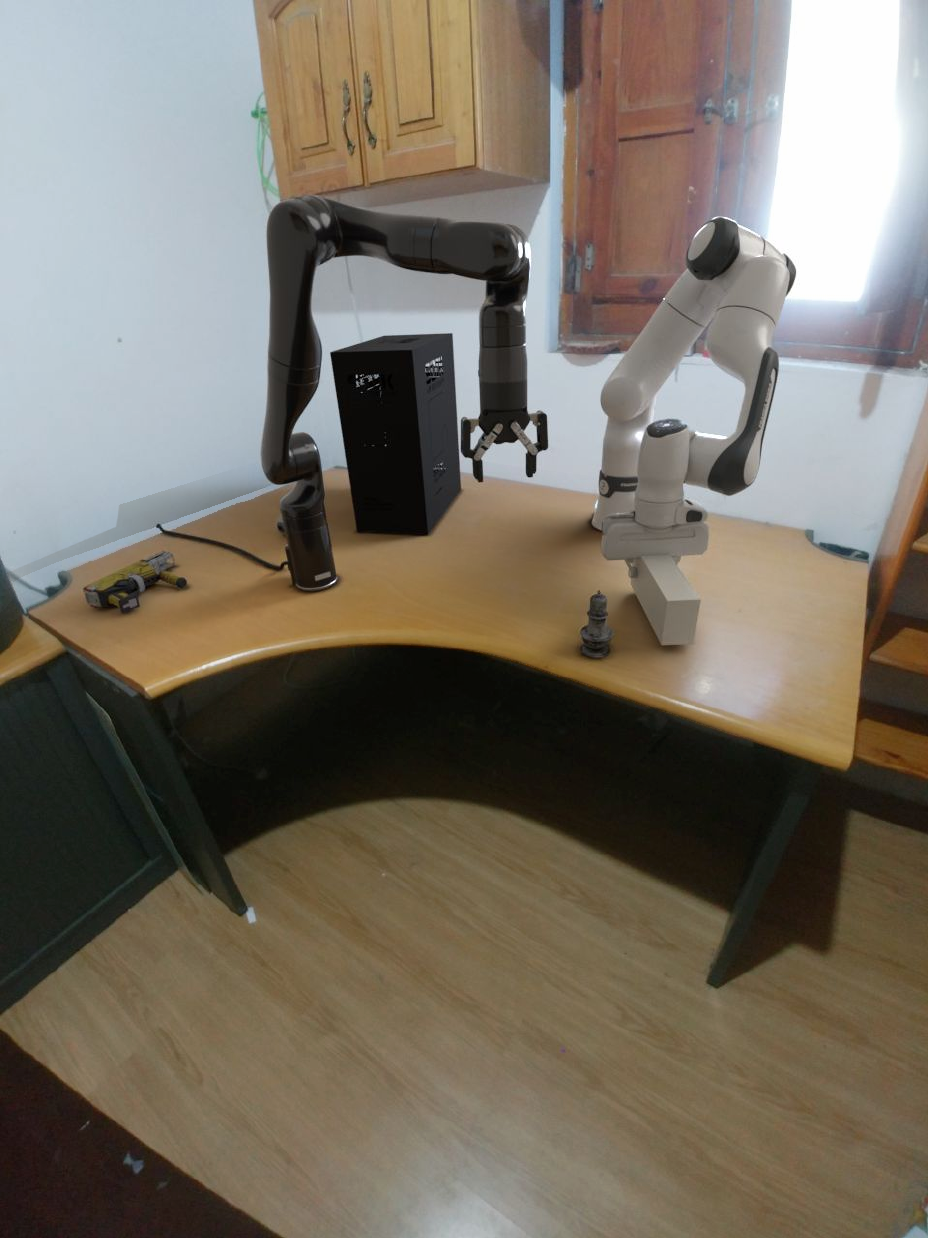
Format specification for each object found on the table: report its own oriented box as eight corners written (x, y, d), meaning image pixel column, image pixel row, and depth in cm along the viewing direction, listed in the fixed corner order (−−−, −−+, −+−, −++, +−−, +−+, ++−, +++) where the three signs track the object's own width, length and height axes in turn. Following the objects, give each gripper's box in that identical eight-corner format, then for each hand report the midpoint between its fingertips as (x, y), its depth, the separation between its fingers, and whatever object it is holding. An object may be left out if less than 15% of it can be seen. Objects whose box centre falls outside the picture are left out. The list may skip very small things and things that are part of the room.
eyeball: (273, 537, 164) (268, 516, 161) (287, 528, 169) (282, 508, 166) (291, 539, 161) (286, 518, 158) (305, 530, 166) (301, 510, 163)
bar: (630, 584, 126) (634, 544, 122) (657, 582, 126) (662, 543, 122) (661, 645, 106) (667, 600, 101) (693, 644, 105) (701, 599, 101)
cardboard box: (428, 534, 159) (412, 349, 137) (356, 531, 164) (329, 352, 141) (461, 489, 191) (452, 333, 168) (400, 488, 195) (384, 335, 173)
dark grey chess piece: (612, 659, 105) (617, 599, 99) (577, 657, 106) (581, 597, 100) (611, 641, 110) (616, 582, 104) (579, 639, 111) (582, 581, 105)
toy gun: (211, 559, 145) (160, 548, 149) (132, 601, 125) (76, 587, 129) (214, 576, 147) (164, 565, 151) (137, 620, 127) (82, 606, 131)
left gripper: (462, 383, 90) (467, 489, 98) (554, 376, 91) (552, 480, 99) (454, 376, 96) (459, 476, 104) (540, 369, 98) (539, 468, 106)
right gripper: (606, 519, 112) (602, 586, 118) (717, 512, 111) (706, 579, 118) (599, 507, 117) (595, 572, 124) (704, 501, 117) (694, 565, 124)
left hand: (504, 478), depth 102 cm, fingers open, 8 cm apart
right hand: (650, 575), depth 121 cm, fingers closed on bar, 5 cm apart
